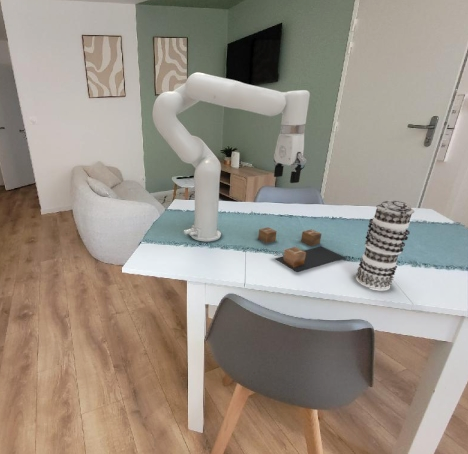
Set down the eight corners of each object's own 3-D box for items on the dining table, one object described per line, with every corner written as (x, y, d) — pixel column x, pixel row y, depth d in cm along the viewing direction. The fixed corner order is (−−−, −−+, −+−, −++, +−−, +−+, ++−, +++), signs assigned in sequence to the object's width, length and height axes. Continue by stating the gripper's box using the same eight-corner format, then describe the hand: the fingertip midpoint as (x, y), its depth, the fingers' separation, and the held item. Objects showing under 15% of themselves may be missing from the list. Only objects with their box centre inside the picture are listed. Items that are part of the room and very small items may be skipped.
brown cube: (265, 244, 113) (267, 233, 111) (257, 239, 117) (259, 229, 115) (275, 241, 114) (276, 231, 112) (267, 237, 118) (268, 227, 116)
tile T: (310, 247, 109) (312, 235, 107) (300, 242, 113) (302, 231, 111) (319, 244, 111) (321, 233, 109) (309, 239, 115) (311, 229, 113)
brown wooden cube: (293, 267, 96) (295, 255, 94) (282, 261, 100) (284, 249, 98) (303, 264, 97) (306, 252, 95) (293, 258, 101) (295, 246, 99)
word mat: (296, 273, 93) (297, 272, 93) (274, 259, 102) (274, 258, 102) (345, 258, 100) (346, 257, 100) (320, 247, 109) (321, 246, 109)
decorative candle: (348, 273, 92) (367, 198, 82) (381, 275, 90) (404, 198, 81) (362, 290, 84) (385, 208, 74) (398, 292, 82) (427, 209, 72)
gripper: (268, 129, 106) (263, 175, 113) (298, 133, 90) (291, 186, 97) (286, 127, 107) (281, 173, 114) (320, 131, 92) (311, 184, 98)
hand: (285, 179), depth 106 cm, fingers open, 9 cm apart
